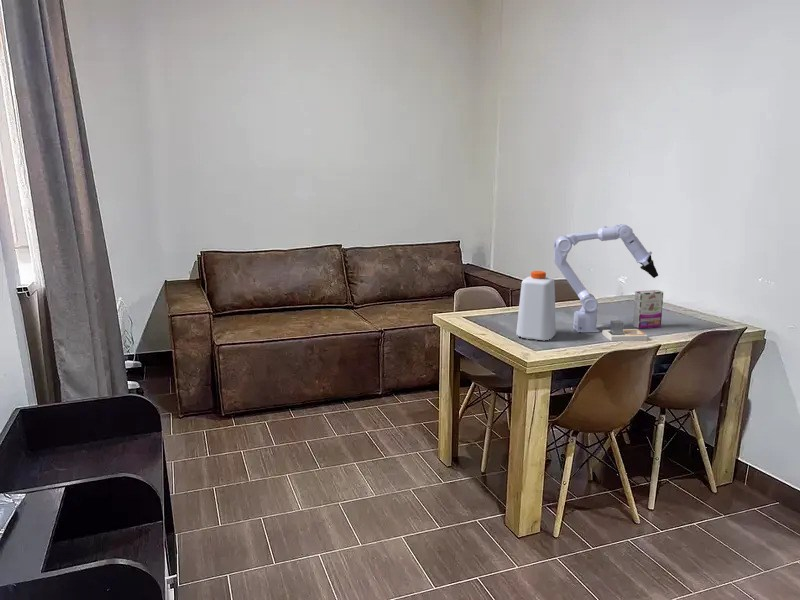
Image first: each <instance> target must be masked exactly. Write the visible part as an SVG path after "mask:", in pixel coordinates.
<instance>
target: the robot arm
mask: <svg viewBox="0 0 800 600" xmlns="http://www.w3.org/2000/svg"><path fill="white" fill-rule="evenodd" d="M596 239H598V240H599V241H601V242H607V241H616V240H619V239H621V241H622V242H623V244H624V246H625V247H626V249H627V250H628V252H630V254H631V256H632V257H633V258H634V259H635V261H636V263H637V264H639V265H640V267H639V268H640V269H641V270H643V271H644V272H645V273H647V274H648V275H650V276H651V277H652V278H653V279H656V278H657V277H658V276H659V274H658V272H657V271H658V270H657V269H656V267H655V263H654V260H653V259H652V254H653V252H652V251H648V250H647V248H645V246H644V245H643V243H642V242H641V241H640V239H639V238H638V236H636V234H635V233H634V230H633V228H632V227H631V226H628V225H627V224H615V225H614V226H613V225H612V226H607V225H602V227H600V228H599V229H598V230H595V231H585V232H573V233H567V234H565V235H559V236H558V237H557V238H556V239H555V242H554V244H553V262H554V264H555V265H556V266H557V269H558V270H559V271H560V272H561V274H562V275H563V276H564V278H565V279H566V281H567V283H569V285H570V286H571V289H572V290H573V291H574V292H575V294H576V295H577V297H578V298H579V300H580V303H581V305H582V306H581V308H580V309H579V310H576V311H574V313H573V326H572V328H573V330H575V332H577V333H579V332H581V333H600V330H599V329H597V323H598V307H599V302H598V301H597V300H596V297H595V296H594V295H593V294H592V293H590V292H589V291H588V290H587V288H586V287H585V286H584V284H583V283H582V281H581V280H580V278H579V277H578V275H577V274H576V273H575V271H574V270H573V268H572V267H571V265H570V264H569V263H568V261H567V258H568V254H569V253H570V252H571V250H572V248H573V246H576V245H577V244H578V243H579V242H585V241H591V240H596Z"/></svg>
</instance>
